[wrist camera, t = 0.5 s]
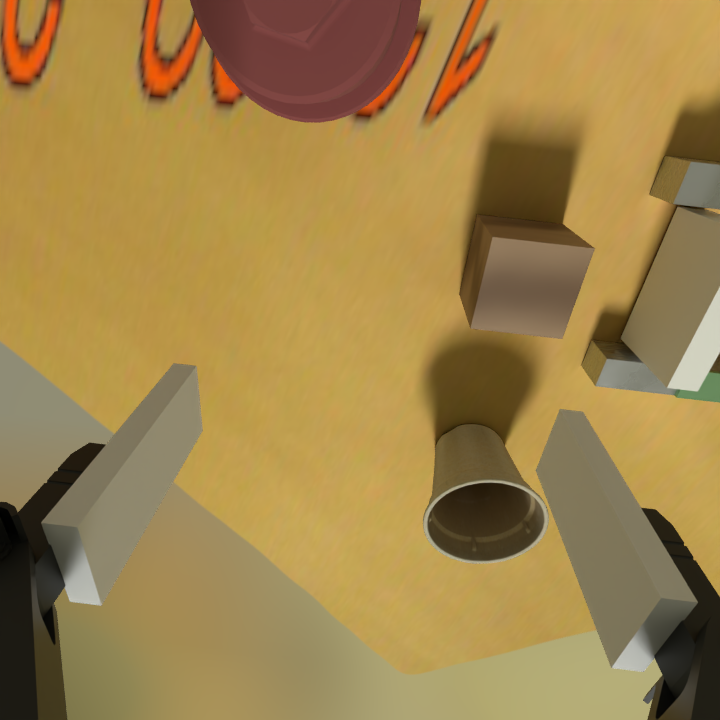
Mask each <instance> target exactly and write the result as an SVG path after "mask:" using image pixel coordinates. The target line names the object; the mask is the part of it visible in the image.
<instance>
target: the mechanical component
mask: <svg viewBox="0 0 720 720" xmlns="http://www.w3.org/2000/svg"><path fill="white" fill-rule="evenodd" d="M190 2H191V5H192V8H193V11H194V14H195V17H196V20H197V22H198V25H199V27H200V29H201V31H202V33H203V35H204V37H205V39H206V41H207V43H208V44H209V46H210V47H211V49H212V50H213V52H214V54H215V56H216V58H217V60H218V62H219V63H220V65H221V66H222V68H223V69H224V71H225V72H226V74H227V75H228V76H229V78H230V79H231V80H232V81H233V82H234V83H235V85H236V86H237V87H238V88H239V89H240V90H241V91H242V92H243V93H244V94H245V95H246V96H248V97H249V98H250V99H251V100H252V101H254V102H255V103H257V104H258V105H259V106H261V107H262V108H264V109H266V110H268V111H270V112H272V113H274V114H276V115H278V116H281V117H284V118H287V119H290V120H295V121H301V122H325V121H332V120H336V119H339V118H342V117H345V116H348V115H350V114H353V113H355V112H357V111H358V110H360V109H362V108H363V107H365V106H367V105H368V104H369V103H371V102H372V101H373V100H374V99H375V98H377V97H378V96H379V95H380V94H381V93H382V92H383V91H384V90H385V88H386V87H387V86H388V85H389V84H390V83H391V81H392V80H393V78H394V77H395V75H396V74H397V73H398V71H399V70H400V68H401V66H402V64H403V62H404V60H405V58H406V56H407V54H408V51H409V49H410V46H411V43H412V40H413V37H414V34H415V30H416V27H417V23H418V17H419V11H420V5H421V0H190Z"/></svg>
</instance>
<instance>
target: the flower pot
mask: <svg viewBox="0 0 720 720" xmlns="http://www.w3.org/2000/svg"><path fill="white" fill-rule="evenodd" d="M548 522H549V515H548V510H547V507H546V505H545V503H544V501H543V500H542V498H541V497H540V496H539V495H538V494H537V493H536V492H535V491H534V490H532V489H531V487H530V486H529V485H528V484H527V483H526V482H525V481H524V480H523V478H522V477H521V475H520V473H519V471H518V469H517V468H516V466H515V464H514V462H513V460H512V459H511V457H510V455H509V453H508V451H507V449H506V447H505V445H504V443H503V441H502V439H501V438H500V437H499V436H498V434H496V433H495V432H494V431H493V430H492V429H490V428H488V427H485V426H482V425H477V424H466V425H460V426H457V427H456V428H455V429H453V430H451V431H450V432H448V433H446V434H444V435H442V436H441V438H440V439H439V441H438V443H437V445H436V448H435V466H434V478H433V490H432V496H431V498H430V501H429V505H428V506H427V508H426V510H425V513H424V518H423V528H424V533H425V535H426V537H427V539H428V541H429V542H430V544H431V545H432V546H433V547H434V548H435V549H436V550H438V551H439V552H440V553H442V554H443V555H446V556H448V557H450V558H452V559H455V560H458V561H462V562H466V563H473V564H475V563H476V564H477V563H479V564H481V563H495V562H501V561H506V560H509V559H512V558H515V557H517V556H520V555H521V554H523V553H525V552H527V551H528V550H530V549H531V548H532V547H534V546H535V545H536V544H537V543H538V542H539V541H540V540H541V538H542V537H543V536H544V534H545V532H546V530H547V527H548Z"/></svg>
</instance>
